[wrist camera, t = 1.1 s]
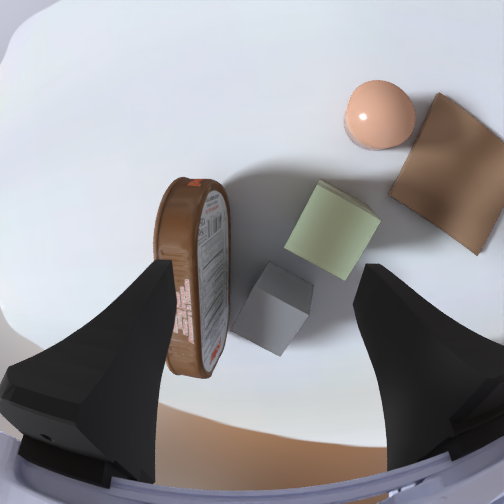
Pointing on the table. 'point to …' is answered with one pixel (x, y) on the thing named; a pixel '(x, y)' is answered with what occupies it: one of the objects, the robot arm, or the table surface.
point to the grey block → (274, 309)
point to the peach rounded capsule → (379, 116)
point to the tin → (196, 271)
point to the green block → (333, 230)
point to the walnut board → (454, 175)
